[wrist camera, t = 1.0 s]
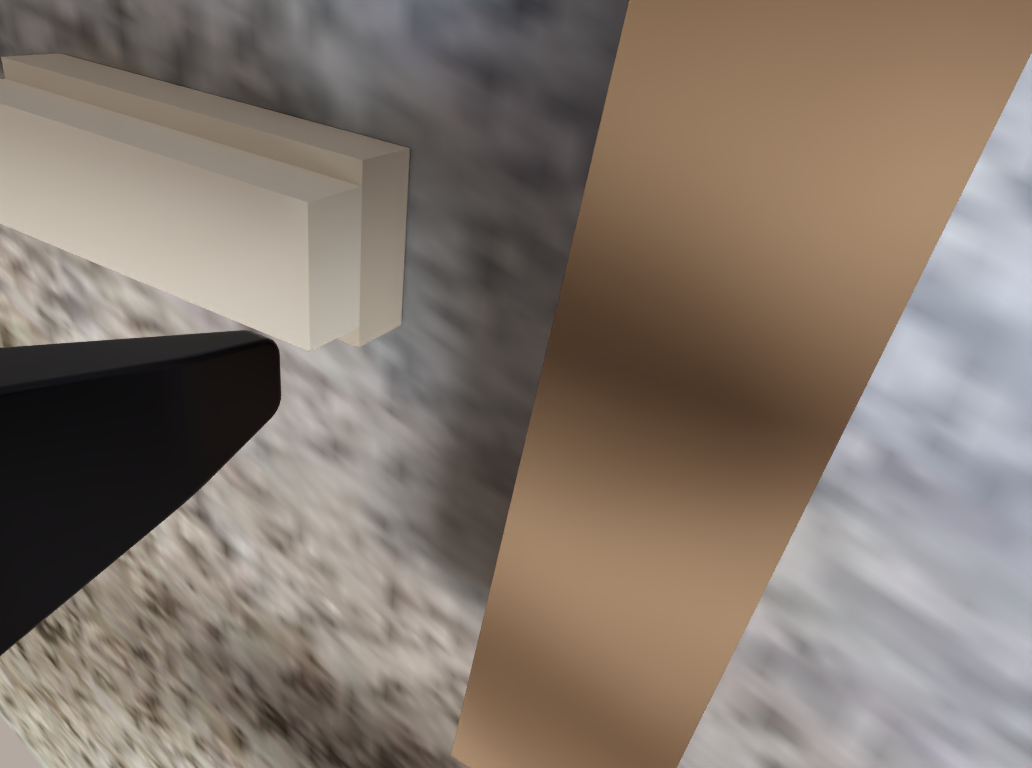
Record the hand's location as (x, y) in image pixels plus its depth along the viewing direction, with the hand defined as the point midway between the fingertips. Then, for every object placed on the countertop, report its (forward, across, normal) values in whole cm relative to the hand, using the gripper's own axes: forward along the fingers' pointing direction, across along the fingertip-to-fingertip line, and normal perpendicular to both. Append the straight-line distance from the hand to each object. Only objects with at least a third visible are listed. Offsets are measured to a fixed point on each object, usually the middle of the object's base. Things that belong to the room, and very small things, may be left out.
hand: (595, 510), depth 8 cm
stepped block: (+7, +13, +1) cm, 15 cm away
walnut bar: (+7, 0, 0) cm, 7 cm away
